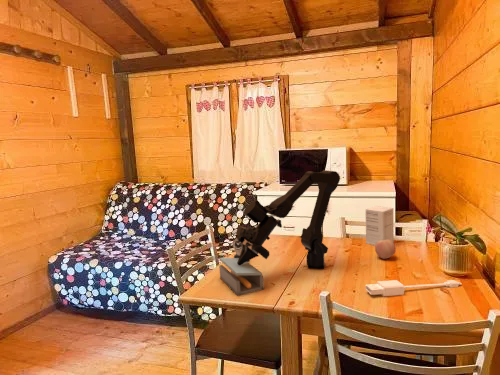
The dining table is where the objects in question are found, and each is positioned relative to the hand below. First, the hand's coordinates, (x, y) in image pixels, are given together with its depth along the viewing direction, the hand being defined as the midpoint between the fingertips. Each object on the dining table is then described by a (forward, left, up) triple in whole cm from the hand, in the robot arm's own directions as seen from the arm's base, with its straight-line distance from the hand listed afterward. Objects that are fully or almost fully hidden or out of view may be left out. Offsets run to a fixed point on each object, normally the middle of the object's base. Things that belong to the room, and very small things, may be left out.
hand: (238, 264), depth 131 cm
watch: (+6, -23, -8) cm, 25 cm away
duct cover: (0, 0, -1) cm, 1 cm away
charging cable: (-59, -4, -8) cm, 60 cm away
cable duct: (0, 0, -7) cm, 7 cm away
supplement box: (-52, -56, -8) cm, 76 cm away
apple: (-53, -35, -8) cm, 64 cm away
